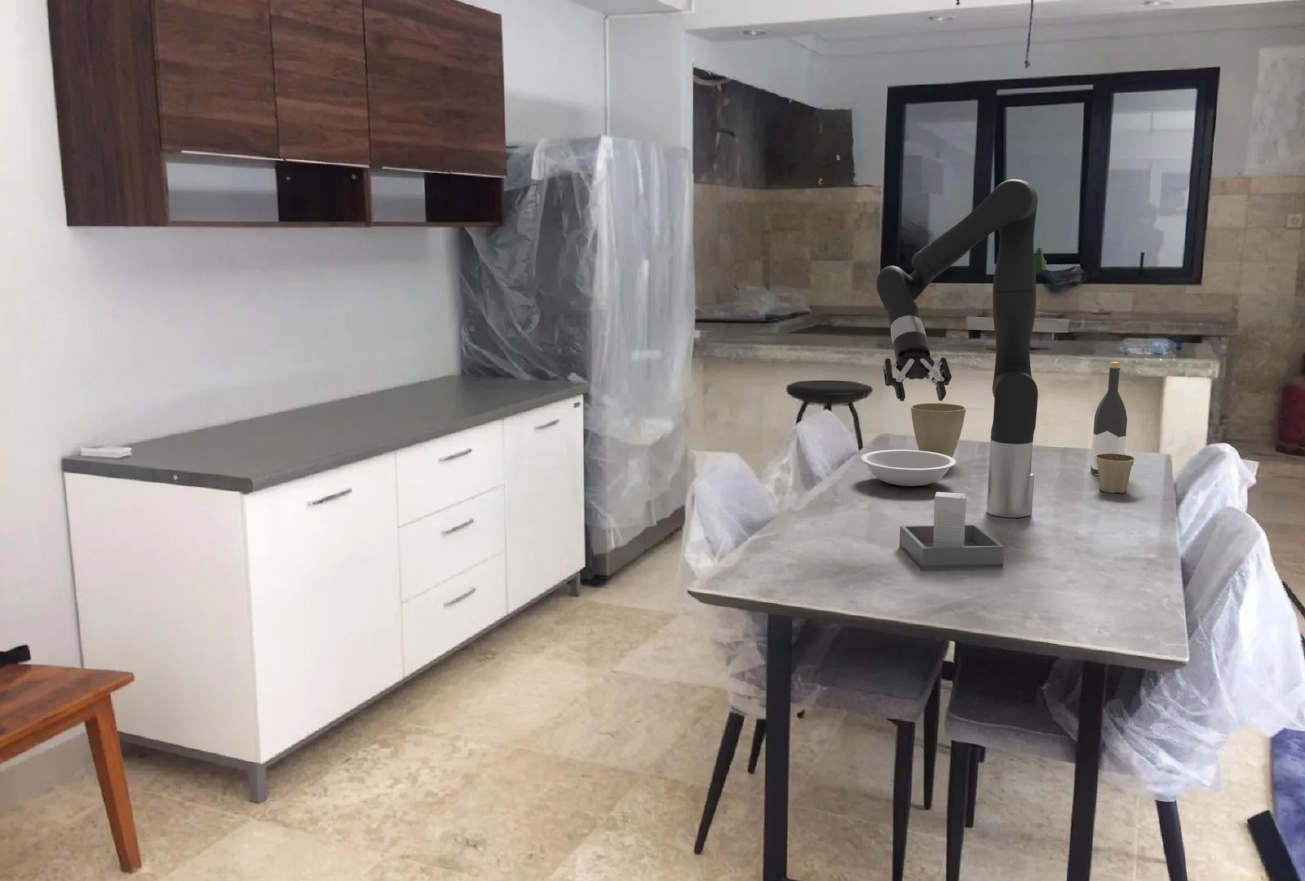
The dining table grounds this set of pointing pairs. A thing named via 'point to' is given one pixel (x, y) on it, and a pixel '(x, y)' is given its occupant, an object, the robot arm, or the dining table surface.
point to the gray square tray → (951, 549)
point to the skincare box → (949, 519)
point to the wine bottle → (1109, 421)
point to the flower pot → (1114, 471)
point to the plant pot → (938, 426)
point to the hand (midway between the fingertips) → (922, 399)
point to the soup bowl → (908, 466)
